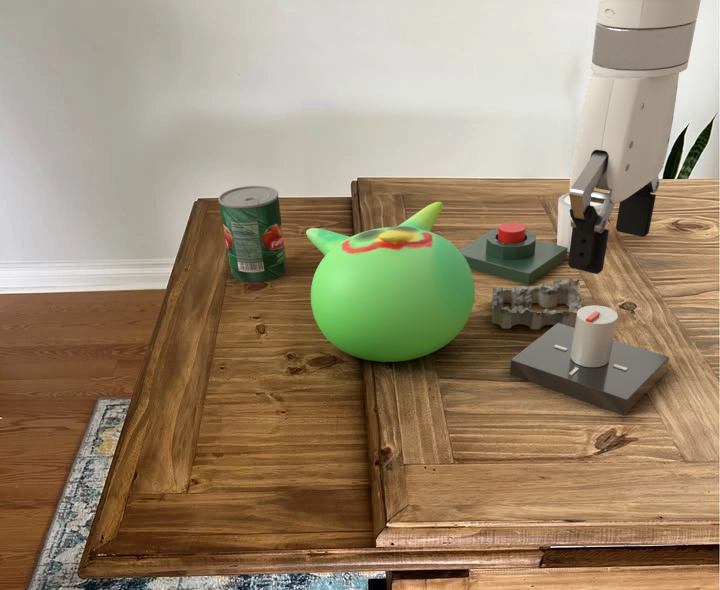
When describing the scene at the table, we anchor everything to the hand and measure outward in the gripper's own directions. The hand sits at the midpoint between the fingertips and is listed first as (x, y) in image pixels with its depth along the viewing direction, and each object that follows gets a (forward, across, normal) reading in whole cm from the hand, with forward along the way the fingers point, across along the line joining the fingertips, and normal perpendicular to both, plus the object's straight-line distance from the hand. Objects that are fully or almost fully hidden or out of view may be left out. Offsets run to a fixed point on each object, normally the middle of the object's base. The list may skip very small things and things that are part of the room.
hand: (609, 250), depth 70 cm
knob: (+11, +1, 0) cm, 11 cm away
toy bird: (+14, +8, -21) cm, 26 cm away
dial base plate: (+14, +1, 0) cm, 14 cm away
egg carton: (+14, -7, -11) cm, 19 cm away
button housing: (+14, -19, -22) cm, 32 cm away
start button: (+10, -19, -22) cm, 31 cm away
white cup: (+14, -29, -17) cm, 36 cm away
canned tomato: (+14, +3, -49) cm, 51 cm away
